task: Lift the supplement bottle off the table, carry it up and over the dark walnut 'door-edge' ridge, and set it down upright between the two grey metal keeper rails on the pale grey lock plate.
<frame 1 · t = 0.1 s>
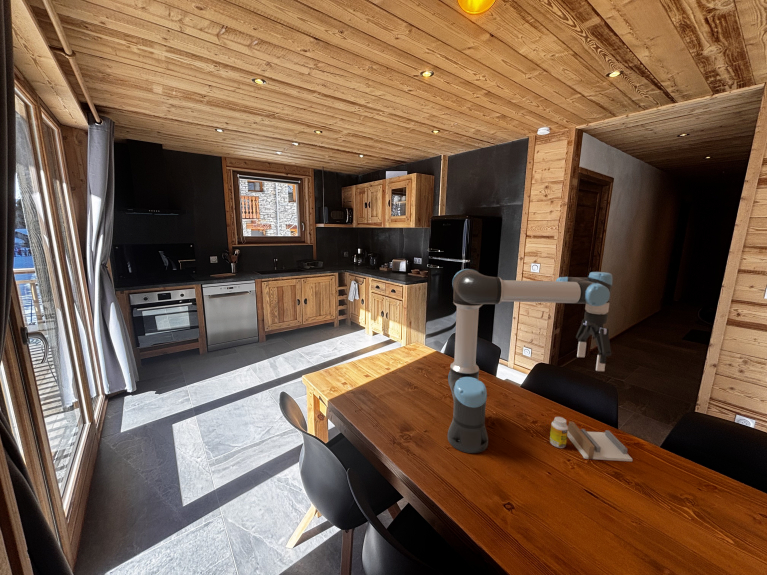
hand: (589, 363, 127), 28 cm above the table, fingers open, 13 cm apart
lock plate: (596, 446, 120), on the table
supplement bottle: (557, 444, 121), on the table
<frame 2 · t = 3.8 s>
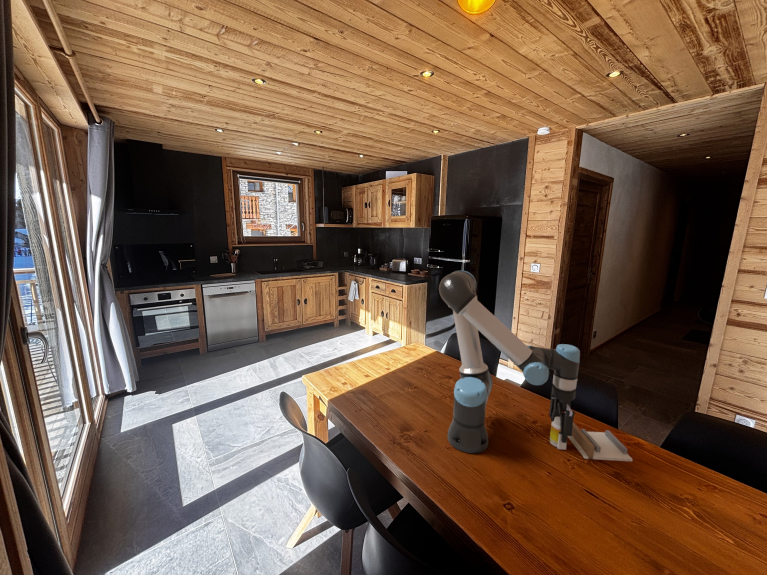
hand: (557, 443, 121), 0 cm above the table, fingers closed on supplement bottle, 6 cm apart
supplement bottle: (557, 444, 121), on the table, touching gripper
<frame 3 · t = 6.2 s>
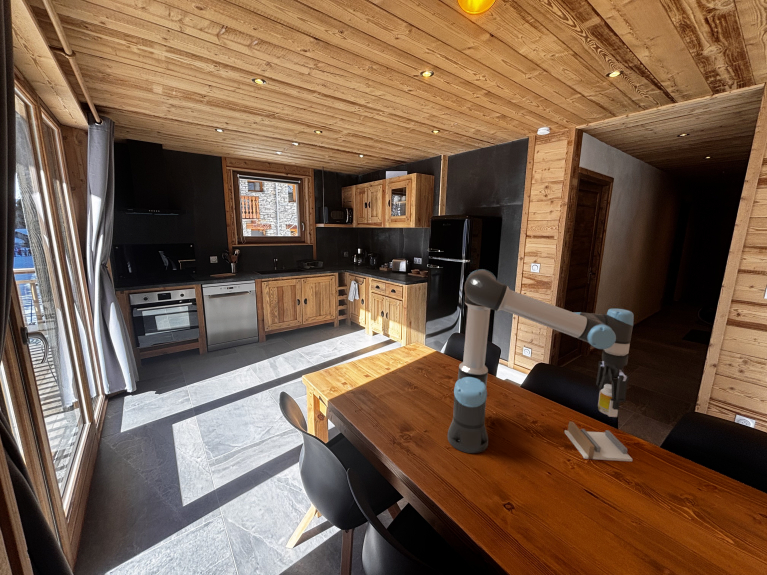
hand: (607, 411, 118), 14 cm above the table, fingers closed on supplement bottle, 6 cm apart
supplement bottle: (607, 412, 118), point 14 cm above the table, touching gripper
when the fingers open (3 cm above the table, at t = 8.5 s): supplement bottle drops 1 cm, resting on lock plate.
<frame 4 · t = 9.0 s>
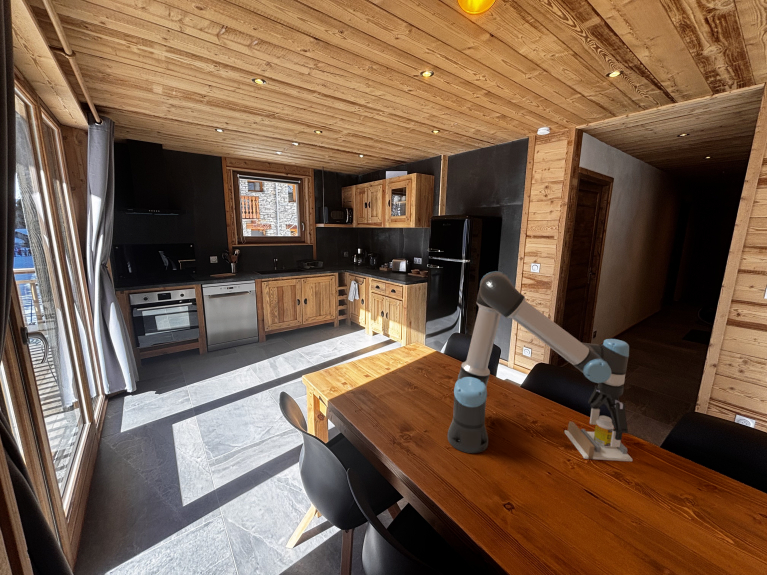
hand: (603, 434, 119), 5 cm above the table, fingers open, 13 cm apart
supplement bottle: (602, 443, 120), point 1 cm above the table, touching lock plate
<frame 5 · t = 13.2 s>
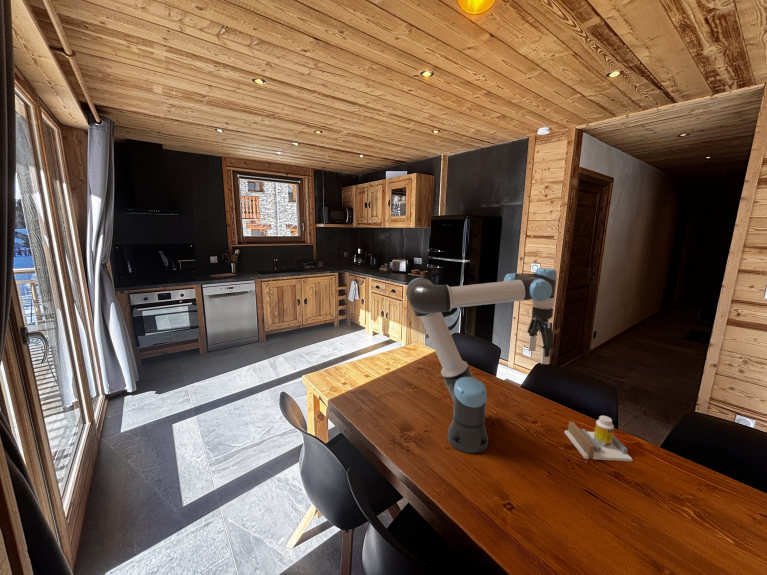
hand: (538, 357, 131), 29 cm above the table, fingers open, 13 cm apart
nothing on the table moved.
at the end: supplement bottle inside the target area (0.1 cm from its centre), point 0.8 cm above the table; supplement bottle tilted 0°; the gripper is holding nothing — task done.
